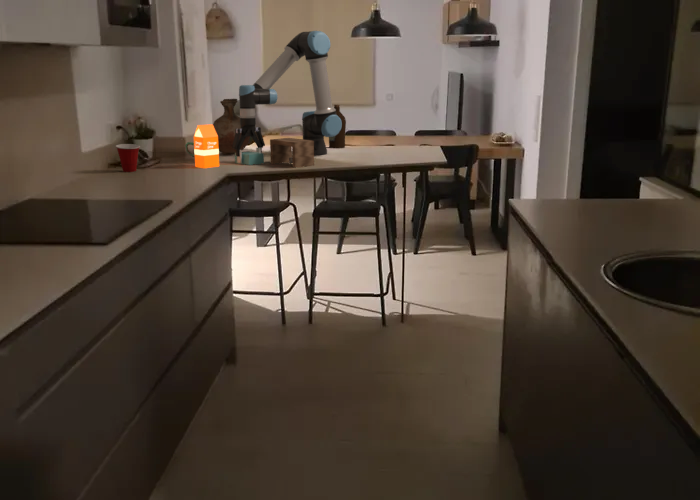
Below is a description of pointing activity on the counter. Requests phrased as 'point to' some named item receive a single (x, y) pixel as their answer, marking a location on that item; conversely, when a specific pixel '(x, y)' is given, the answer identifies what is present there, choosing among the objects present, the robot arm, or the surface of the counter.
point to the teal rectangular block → (251, 158)
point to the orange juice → (206, 147)
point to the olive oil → (339, 139)
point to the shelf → (292, 151)
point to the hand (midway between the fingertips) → (249, 161)
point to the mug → (187, 148)
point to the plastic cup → (128, 156)
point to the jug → (228, 128)
